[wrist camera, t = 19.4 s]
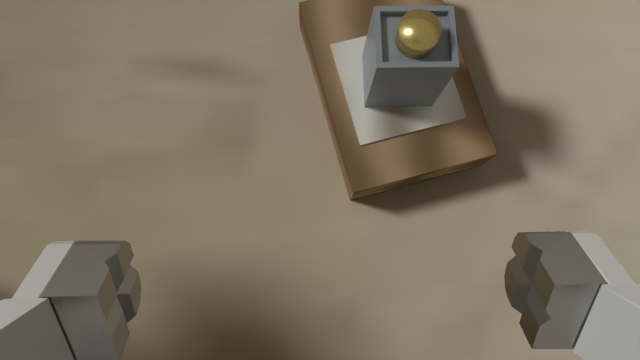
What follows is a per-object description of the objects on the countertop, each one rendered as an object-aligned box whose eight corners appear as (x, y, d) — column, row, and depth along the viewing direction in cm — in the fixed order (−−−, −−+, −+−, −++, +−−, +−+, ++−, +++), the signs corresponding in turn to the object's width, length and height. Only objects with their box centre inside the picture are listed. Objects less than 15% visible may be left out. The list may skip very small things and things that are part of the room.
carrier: (364, 107, 40) (376, 67, 33) (362, 55, 41) (373, 6, 34) (431, 106, 40) (459, 66, 33) (428, 54, 41) (453, 5, 34)
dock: (350, 200, 43) (354, 191, 39) (299, 26, 46) (298, 1, 42) (480, 165, 44) (498, 153, 39) (422, -3, 47) (432, -31, 43)
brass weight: (394, 57, 33) (398, 46, 32) (395, 19, 34) (400, 7, 32) (435, 60, 33) (441, 50, 32) (436, 23, 34) (442, 10, 32)
